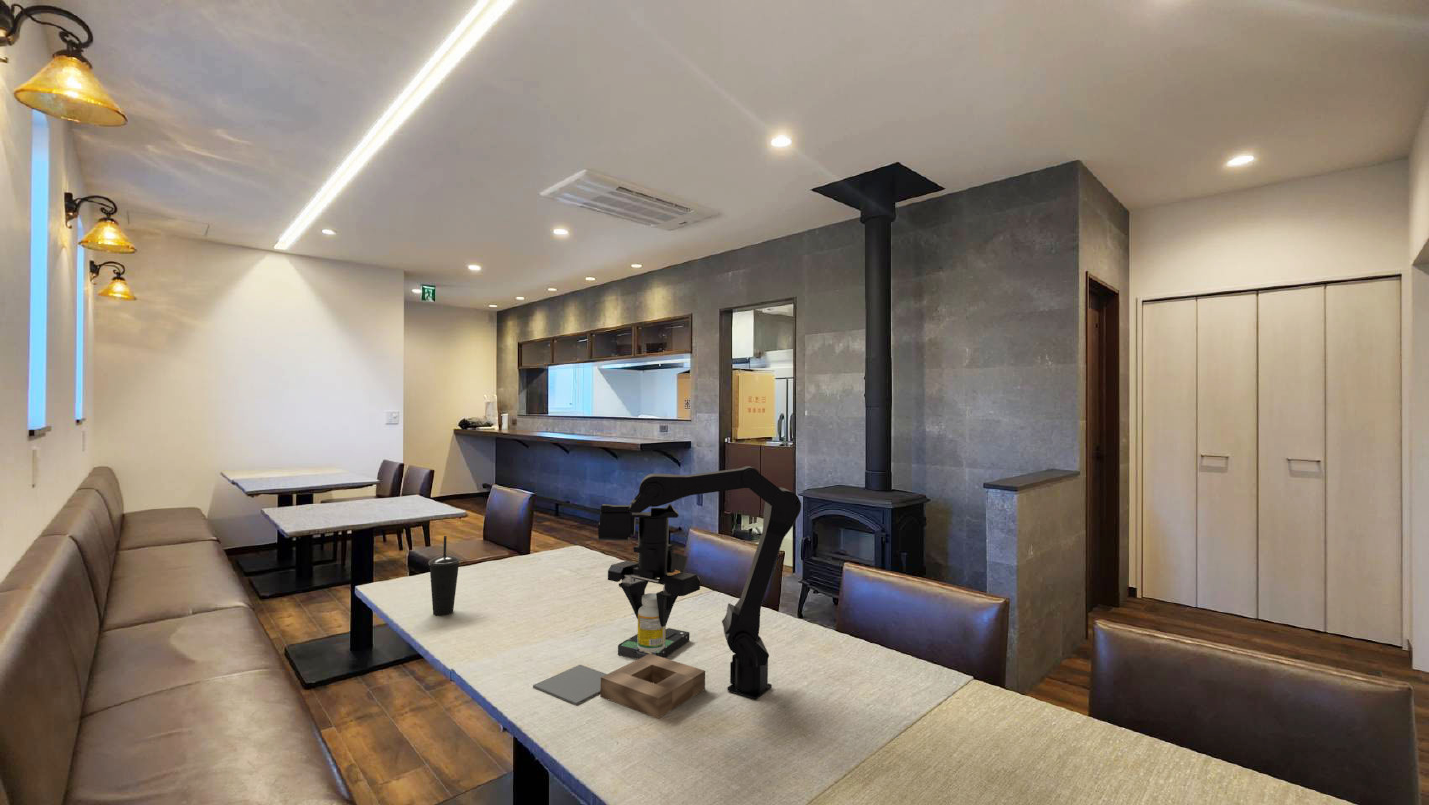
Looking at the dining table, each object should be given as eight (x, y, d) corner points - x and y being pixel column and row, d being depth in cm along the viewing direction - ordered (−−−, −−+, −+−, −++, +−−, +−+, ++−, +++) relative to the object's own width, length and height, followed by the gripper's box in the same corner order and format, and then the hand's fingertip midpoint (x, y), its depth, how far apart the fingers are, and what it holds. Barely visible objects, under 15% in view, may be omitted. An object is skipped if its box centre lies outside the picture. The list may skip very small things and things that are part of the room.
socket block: (704, 689, 114) (705, 670, 114) (658, 719, 102) (658, 698, 102) (649, 670, 122) (649, 653, 122) (600, 696, 110) (600, 677, 110)
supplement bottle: (656, 654, 109) (657, 602, 109) (631, 649, 111) (632, 598, 111) (670, 644, 114) (671, 594, 114) (646, 640, 116) (647, 590, 116)
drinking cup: (427, 610, 157) (429, 534, 158) (458, 606, 161) (460, 532, 161) (426, 619, 150) (428, 540, 151) (459, 615, 154) (461, 537, 154)
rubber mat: (622, 681, 116) (622, 679, 116) (576, 705, 107) (576, 703, 107) (580, 666, 123) (580, 664, 123) (532, 687, 113) (533, 685, 113)
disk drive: (652, 636, 143) (616, 657, 130) (652, 624, 143) (617, 644, 130) (690, 643, 139) (657, 666, 125) (690, 631, 139) (657, 652, 125)
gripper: (717, 540, 114) (716, 621, 114) (644, 528, 125) (642, 603, 124) (682, 550, 105) (680, 638, 105) (606, 536, 116) (604, 617, 115)
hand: (651, 623), depth 112 cm, fingers closed on supplement bottle, 5 cm apart
